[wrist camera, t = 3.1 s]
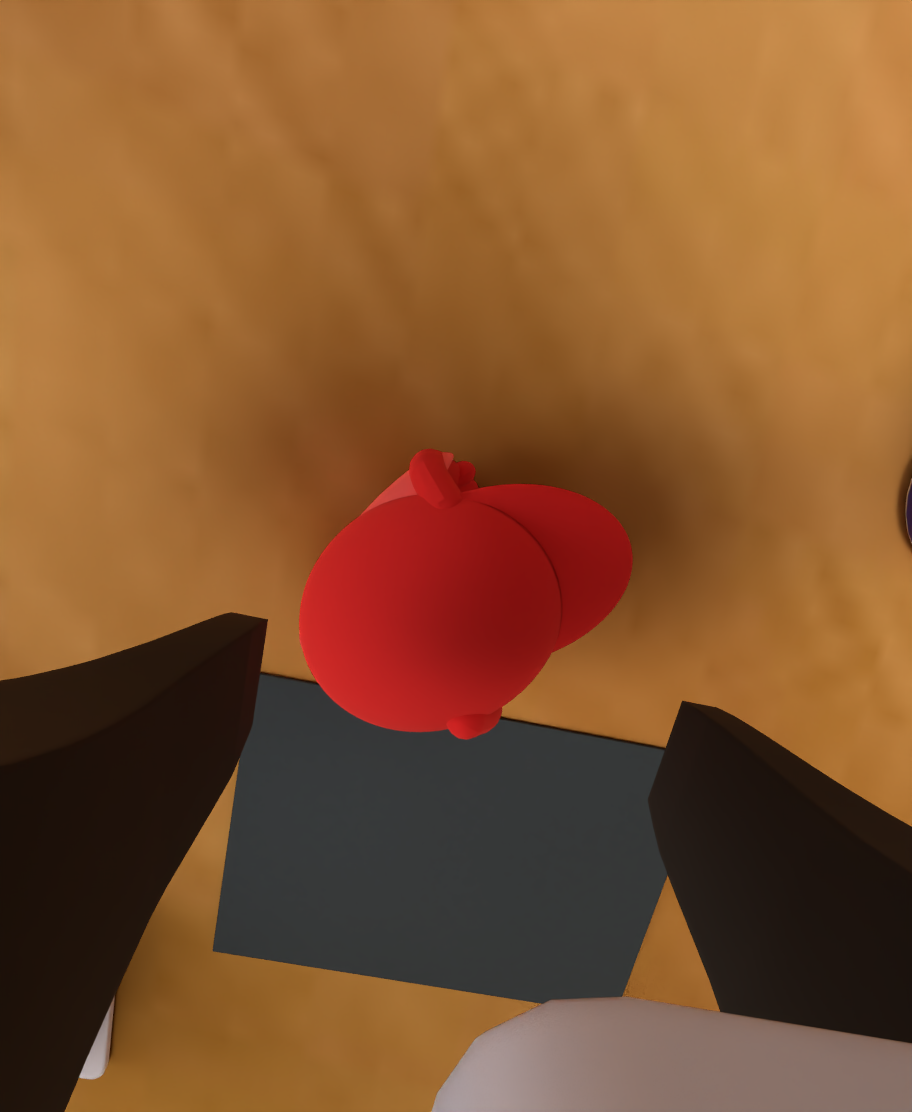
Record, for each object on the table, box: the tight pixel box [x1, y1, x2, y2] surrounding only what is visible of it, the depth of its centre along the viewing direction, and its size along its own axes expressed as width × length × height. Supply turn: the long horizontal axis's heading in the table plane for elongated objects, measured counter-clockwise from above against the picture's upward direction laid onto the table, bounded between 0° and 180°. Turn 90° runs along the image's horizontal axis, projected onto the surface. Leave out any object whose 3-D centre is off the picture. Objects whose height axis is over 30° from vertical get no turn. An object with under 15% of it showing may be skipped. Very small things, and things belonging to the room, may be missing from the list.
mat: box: [213, 673, 668, 1004], centre depth 22 cm, size 14×10×1 cm
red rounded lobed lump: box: [299, 449, 633, 740], centre depth 16 cm, size 8×6×6 cm
